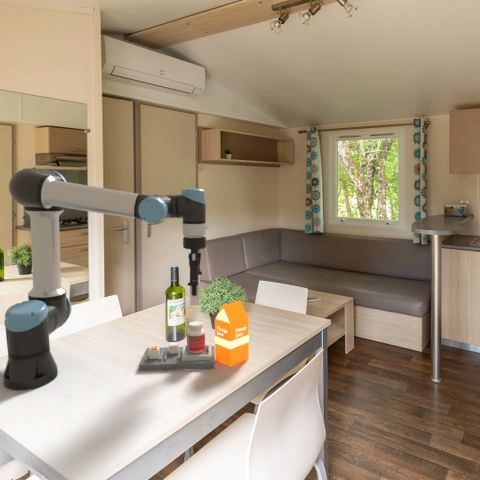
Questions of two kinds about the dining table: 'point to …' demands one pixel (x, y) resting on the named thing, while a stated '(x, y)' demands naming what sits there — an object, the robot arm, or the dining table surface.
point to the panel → (179, 360)
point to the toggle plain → (173, 348)
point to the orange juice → (232, 334)
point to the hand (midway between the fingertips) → (195, 299)
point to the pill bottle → (196, 339)
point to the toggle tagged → (154, 352)
